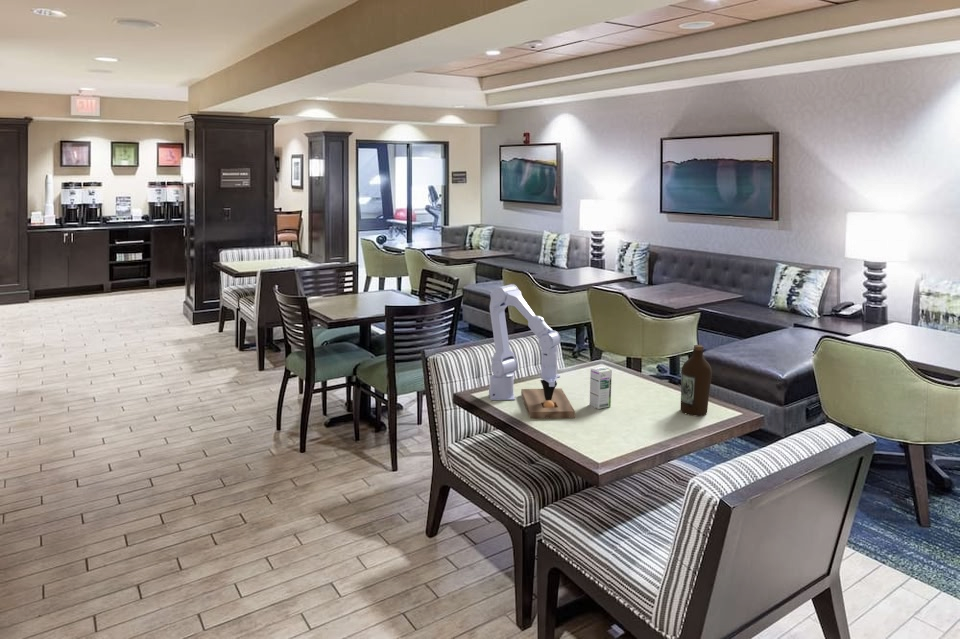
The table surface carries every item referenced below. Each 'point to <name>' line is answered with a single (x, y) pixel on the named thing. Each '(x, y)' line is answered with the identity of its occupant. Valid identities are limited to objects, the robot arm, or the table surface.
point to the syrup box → (600, 387)
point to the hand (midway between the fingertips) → (548, 399)
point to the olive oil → (695, 383)
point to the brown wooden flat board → (536, 400)
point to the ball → (548, 404)
